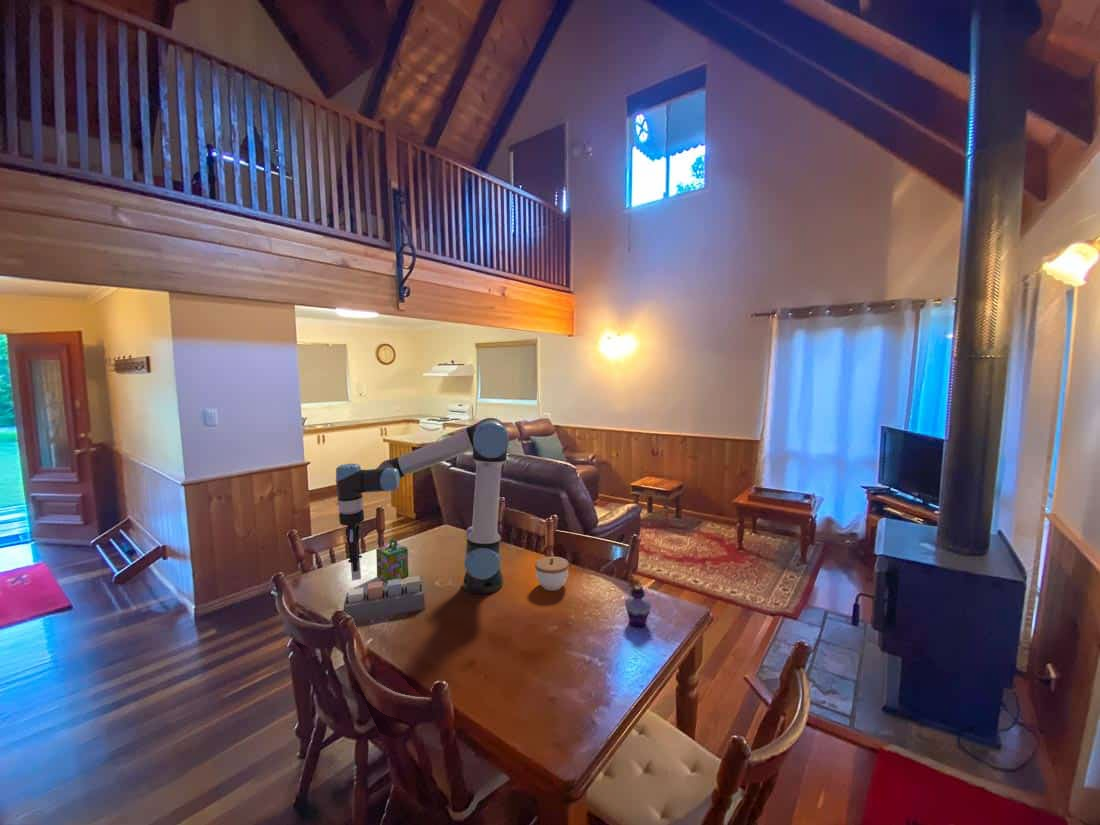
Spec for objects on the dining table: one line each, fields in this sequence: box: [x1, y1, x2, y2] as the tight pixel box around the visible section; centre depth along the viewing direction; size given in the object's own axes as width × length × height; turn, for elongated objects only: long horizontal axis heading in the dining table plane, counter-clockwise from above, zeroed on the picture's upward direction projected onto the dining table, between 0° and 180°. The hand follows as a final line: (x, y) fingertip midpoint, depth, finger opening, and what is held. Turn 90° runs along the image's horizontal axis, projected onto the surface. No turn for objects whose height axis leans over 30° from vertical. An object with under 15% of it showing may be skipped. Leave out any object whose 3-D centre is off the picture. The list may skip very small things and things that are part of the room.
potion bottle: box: [624, 585, 652, 629], centre depth 146 cm, size 9×9×12 cm
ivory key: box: [348, 587, 364, 603], centre depth 155 cm, size 4×4×5 cm
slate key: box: [386, 578, 402, 597], centre depth 158 cm, size 4×4×5 cm
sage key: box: [405, 575, 421, 594], centre depth 160 cm, size 4×4×5 cm
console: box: [343, 580, 426, 622], centre depth 158 cm, size 25×10×6 cm, turn 108°
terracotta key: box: [367, 580, 384, 600], centre depth 156 cm, size 4×4×5 cm
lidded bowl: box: [534, 556, 570, 592], centre depth 172 cm, size 13×13×11 cm
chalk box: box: [376, 538, 410, 584], centre depth 182 cm, size 9×9×15 cm
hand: (356, 578), depth 154 cm, fingers closed
